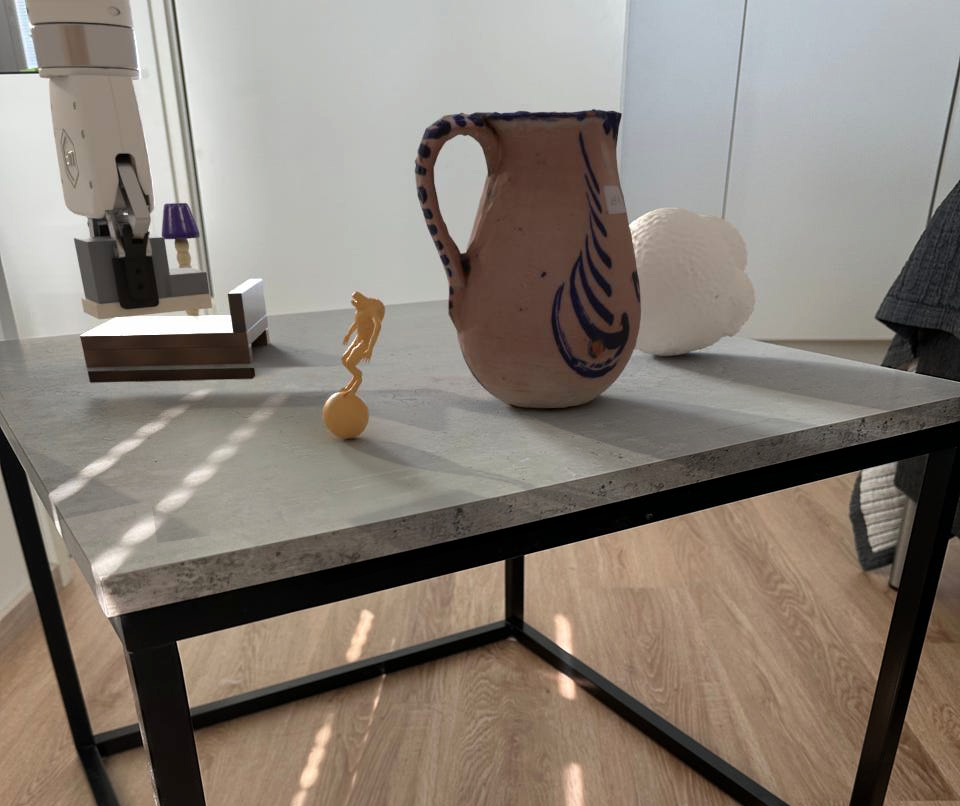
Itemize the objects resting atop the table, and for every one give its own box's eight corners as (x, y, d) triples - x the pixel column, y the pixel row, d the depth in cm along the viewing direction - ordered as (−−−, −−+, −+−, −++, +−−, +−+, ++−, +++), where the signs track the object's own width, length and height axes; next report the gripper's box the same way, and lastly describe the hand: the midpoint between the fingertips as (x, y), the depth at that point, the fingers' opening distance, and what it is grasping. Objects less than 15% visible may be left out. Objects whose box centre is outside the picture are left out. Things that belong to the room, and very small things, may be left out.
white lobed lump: (556, 352, 112) (559, 208, 105) (649, 333, 122) (658, 200, 115) (690, 378, 99) (704, 215, 91) (782, 353, 109) (802, 205, 102)
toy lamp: (173, 340, 123) (150, 203, 116) (205, 336, 126) (185, 201, 118) (188, 345, 120) (166, 204, 112) (221, 340, 123) (201, 202, 115)
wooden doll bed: (89, 382, 102) (71, 296, 98) (124, 360, 112) (108, 281, 108) (252, 379, 102) (241, 293, 98) (271, 357, 113) (262, 278, 108)
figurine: (316, 428, 84) (302, 288, 78) (380, 421, 86) (371, 283, 80) (335, 453, 77) (321, 301, 71) (404, 445, 79) (396, 296, 73)
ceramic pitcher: (672, 405, 89) (697, 105, 77) (482, 439, 80) (477, 105, 68) (569, 372, 102) (576, 113, 90) (396, 398, 93) (380, 113, 81)
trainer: (98, 319, 77) (84, 242, 75) (83, 312, 81) (69, 237, 78) (212, 307, 83) (202, 235, 80) (194, 301, 86) (184, 231, 83)
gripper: (11, 61, 76) (59, 295, 85) (67, 47, 64) (117, 322, 73) (103, 64, 80) (141, 288, 88) (173, 52, 68) (208, 312, 77)
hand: (130, 301), depth 80 cm, fingers closed on trainer, 4 cm apart
